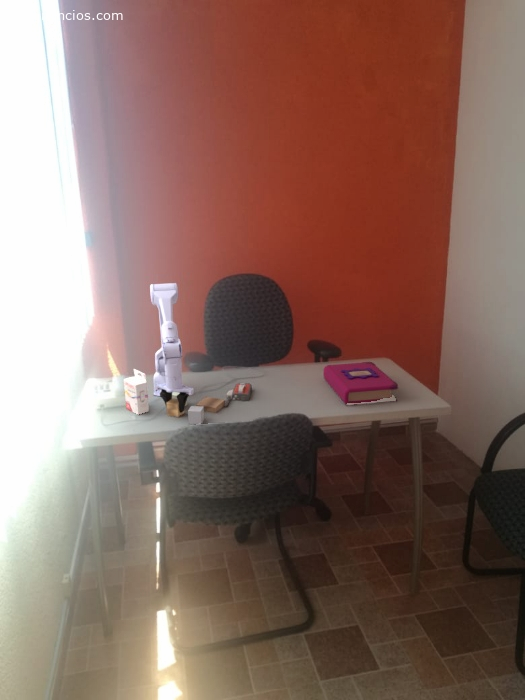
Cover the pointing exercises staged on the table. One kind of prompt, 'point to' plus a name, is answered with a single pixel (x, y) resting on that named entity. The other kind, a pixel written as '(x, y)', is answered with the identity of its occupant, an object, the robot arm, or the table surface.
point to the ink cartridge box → (136, 393)
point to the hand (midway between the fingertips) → (175, 410)
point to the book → (359, 382)
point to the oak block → (173, 408)
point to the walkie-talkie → (239, 392)
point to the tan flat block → (211, 404)
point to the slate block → (196, 414)
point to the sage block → (174, 395)
